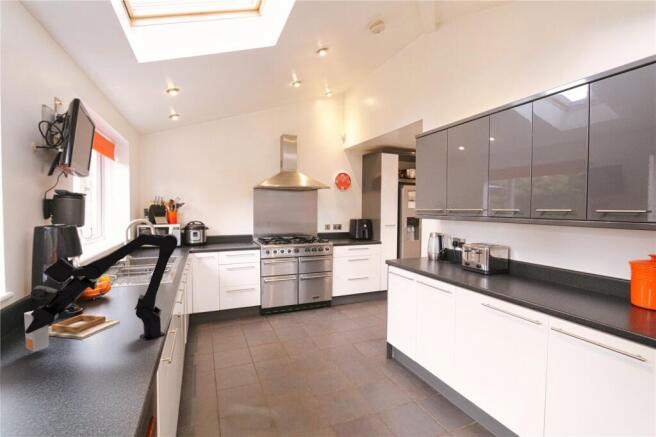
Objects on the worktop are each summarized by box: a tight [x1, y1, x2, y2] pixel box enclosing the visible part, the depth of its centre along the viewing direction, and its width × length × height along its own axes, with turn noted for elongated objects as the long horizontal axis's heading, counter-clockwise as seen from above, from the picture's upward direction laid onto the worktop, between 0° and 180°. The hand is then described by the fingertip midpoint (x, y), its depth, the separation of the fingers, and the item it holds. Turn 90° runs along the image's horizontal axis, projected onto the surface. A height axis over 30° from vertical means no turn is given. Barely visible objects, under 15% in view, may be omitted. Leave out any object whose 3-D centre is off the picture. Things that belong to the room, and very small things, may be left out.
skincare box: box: [23, 310, 50, 352], centre depth 103 cm, size 6×4×12 cm
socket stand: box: [48, 313, 121, 340], centre depth 125 cm, size 22×16×3 cm
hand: (31, 328), depth 103 cm, fingers closed on skincare box, 7 cm apart
